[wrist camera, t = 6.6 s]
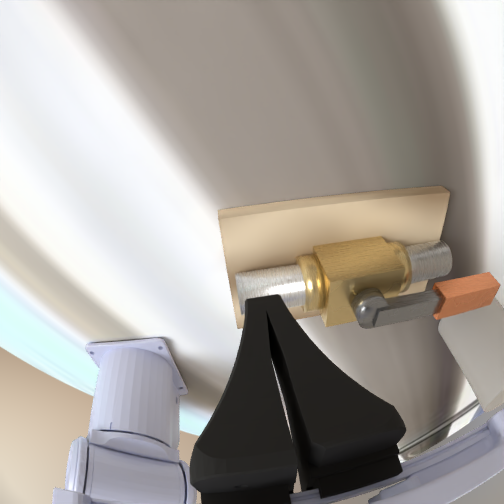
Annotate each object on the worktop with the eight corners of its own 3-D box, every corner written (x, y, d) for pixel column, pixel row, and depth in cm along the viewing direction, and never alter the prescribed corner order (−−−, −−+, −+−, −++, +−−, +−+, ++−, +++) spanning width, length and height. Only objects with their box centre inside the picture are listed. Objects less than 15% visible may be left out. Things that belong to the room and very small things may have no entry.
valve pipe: (424, 263, 25) (450, 296, 21) (238, 296, 24) (245, 341, 20) (435, 223, 22) (465, 255, 19) (232, 253, 22) (237, 297, 18)
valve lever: (348, 315, 20) (358, 338, 18) (354, 290, 19) (366, 313, 17) (476, 289, 21) (489, 305, 19) (486, 267, 20) (501, 283, 18)
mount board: (418, 283, 27) (424, 292, 26) (236, 318, 26) (237, 328, 25) (441, 185, 21) (450, 192, 20) (217, 210, 20) (218, 219, 19)
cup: (454, 340, 35) (494, 411, 25) (427, 328, 32) (474, 412, 22) (496, 297, 31) (545, 365, 22) (476, 277, 28) (537, 357, 18)
